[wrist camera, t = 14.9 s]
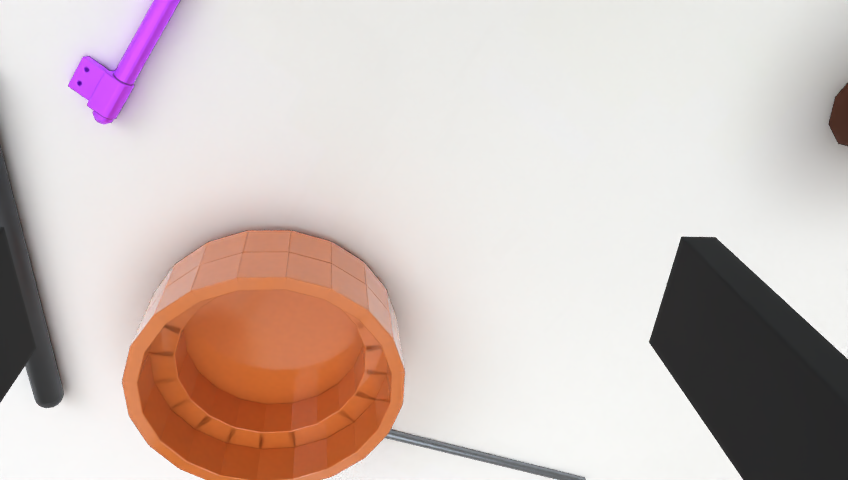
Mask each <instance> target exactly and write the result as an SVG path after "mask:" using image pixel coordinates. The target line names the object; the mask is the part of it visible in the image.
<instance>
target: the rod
mask: <svg viewBox="0 0 848 480" xmlns="http://www.w3.org/2000/svg"><path fill="white" fill-rule="evenodd" d="M385 438H387V439H391V440H396V441H400V442H404V443H408V444H412V445H416V446H420V447H424V448H429V449H433V450H437V451H441V452H445V453H449V454H453V455H458V456H462V457H466V458H470V459H474V460H478V461H482V462H486V463H491V464H495V465H499V466H503V467H507V468H511V469H515V470H520V471H524V472H528V473H532V474H536V475H540V476H544V477H549V478H553V479H557V480H586V479H585V477H581V476H577V475H573V474H569V473H565V472H561V471H557V470H553V469H548V468H544V467H540V466H536V465H532V464H528V463H524V462H520V461H516V460H512V459H508V458H504V457H500V456H496V455H492V454H488V453H484V452H480V451H476V450H472V449H467V448H463V447H459V446H455V445H451V444H447V443H443V442H439V441H435V440H431V439H427V438H423V437H419V436H415V435H411V434H407V433H403V432H399V431H395V430H390V432H389V433H388V435H387V436H386V437H385Z"/></svg>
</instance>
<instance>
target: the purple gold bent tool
mask: <svg viewBox="0 0 848 480" xmlns="http://www.w3.org/2000/svg"><path fill="white" fill-rule="evenodd" d="M179 2H180V0H154V1H153V3H152V5H151V6H150V8H149V10H148V12H147V14H146V16H145V17H144V19H143V21H142V23H141V25H140V27H139V28H138V30H137V32H136V34H135V36H134V37H133V39H132V41H131V43H130V45H129V47H128V48H127V50H126V52H125V54H124V56H123V58H122V59H121V61H120V63H119V65H118V67H117V69H116V70H114V71H109V70H108V69H106V68H105V67H103V66H102V65H101V64H99V63H98V62H96V61H95V60H93V59H92V58H91V57H89V56H85V57H83V58H82V60H81V62H80V64H79V65H78V67H77V69H76V71H75V73H74V75H73V77H72V79H71V81H70V83H69V85H68V86H69V87H70V88H71V89H73V90H74V91H76V92H77V93H79V94H80V95H82V96H83V97H84V98H86V99H87V100H89V102H88V103H87V106H88V107H90V108H91V109H92V110H94V111H93V115H94V118H95V120H96V121H97V122H99V123H101V124H108V123H111V122H112V121H113V119H116V118H117V116H118V114H119V113H120V111H121V109H122V107H123V105H124V104H125V102H126V100H127V98H128V97H129V95H130V93H131V91H132V89H133V88H134V82H135V80H136V78H137V77H138V75H139V73H140V71H141V69H142V68H143V66H144V64H145V62H146V61H147V59H148V57H149V55H150V53H151V52H152V50H153V48H154V46H155V45H156V43H157V41H158V39H159V37H160V36H161V34H162V32H163V30H164V29H165V27H166V25H167V23H168V21H169V20H170V18H171V16H172V14H173V13H174V11H175V9H176V7H177V5H178V4H179Z"/></svg>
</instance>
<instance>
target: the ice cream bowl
mask: <svg viewBox="0 0 848 480" xmlns="http://www.w3.org/2000/svg"><path fill="white" fill-rule="evenodd" d="M829 126H830V128H831V130H832V132H833V134H834V136H835V138H836V140H837V142H838V144H842V145H847V146H848V83H847V84H846V86H845V87H844V88H843V89H842V90H841V91H840V92H839V94H838V95H837V96H836V97H835V101H834V105H833V109H832V113H831V117H830V121H829Z"/></svg>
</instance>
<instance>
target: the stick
mask: <svg viewBox="0 0 848 480" xmlns="http://www.w3.org/2000/svg"><path fill="white" fill-rule="evenodd" d="M0 227H4V229H5V232H6V236H7V240H8V244H9V247H10V251H11V255H12V259H13V262H14V266H15V270H16V273H17V277H18V281H19V285H20V288H21V292H22V296H23V300H24V303H25V307H26V311H27V315H28V318H29V322H30V326H31V330H32V333H33V337H34V341H35V344H36V350H35V351H34V353H33V354H32V356H31V357H30V359H29V360H28V362H27V363H26V365H25V366H26V370H27V373H28V377H29V380H30V384H31V387H32V391H33V394H34V398H35V401H36V403H37V404H38V405H39V406H41V407H44V408H51V407H54V406H56V405H58V404H59V403H60V402H61V400H62V398H63V395H64V393H63V388H62V384H61V380H60V376H59V372H58V368H57V364H56V361H55V357H54V353H53V349H52V345H51V341H50V337H49V333H48V329H47V325H46V321H45V318H44V314H43V310H42V306H41V302H40V298H39V294H38V290H37V286H36V282H35V279H34V275H33V271H32V267H31V263H30V259H29V255H28V251H27V247H26V243H25V239H24V236H23V232H22V228H21V224H20V220H19V216H18V212H17V208H16V204H15V200H14V196H13V193H12V189H11V185H10V181H9V177H8V173H7V169H6V165H5V161H4V157H3V153H2V150H1V146H0Z"/></svg>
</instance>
